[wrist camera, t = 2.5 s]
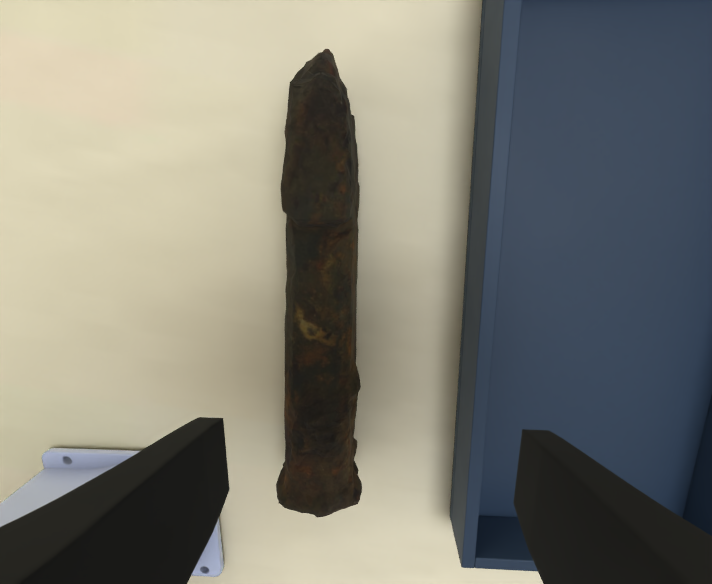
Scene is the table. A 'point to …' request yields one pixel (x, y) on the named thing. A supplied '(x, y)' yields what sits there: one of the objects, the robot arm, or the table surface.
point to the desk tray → (587, 258)
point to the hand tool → (320, 293)
